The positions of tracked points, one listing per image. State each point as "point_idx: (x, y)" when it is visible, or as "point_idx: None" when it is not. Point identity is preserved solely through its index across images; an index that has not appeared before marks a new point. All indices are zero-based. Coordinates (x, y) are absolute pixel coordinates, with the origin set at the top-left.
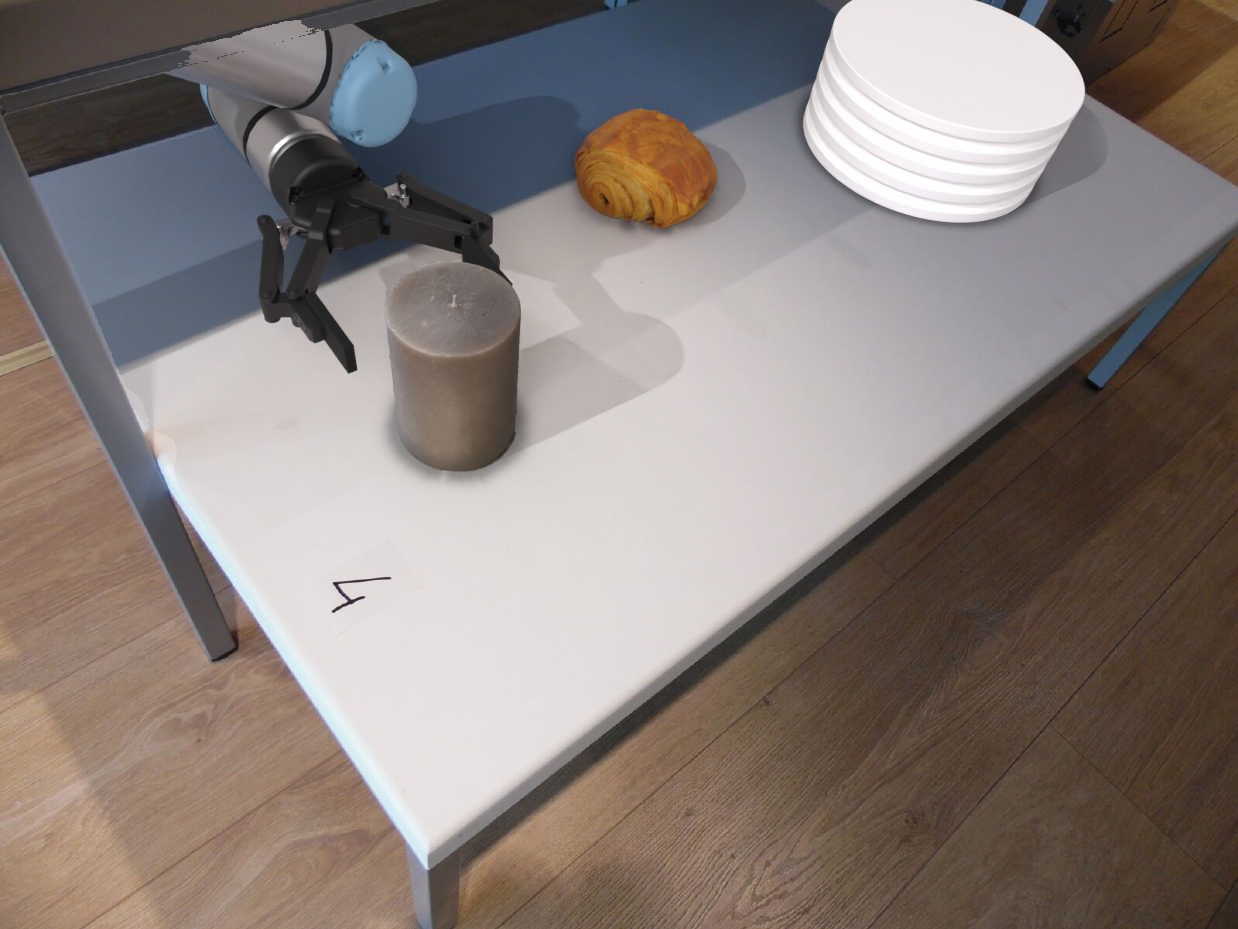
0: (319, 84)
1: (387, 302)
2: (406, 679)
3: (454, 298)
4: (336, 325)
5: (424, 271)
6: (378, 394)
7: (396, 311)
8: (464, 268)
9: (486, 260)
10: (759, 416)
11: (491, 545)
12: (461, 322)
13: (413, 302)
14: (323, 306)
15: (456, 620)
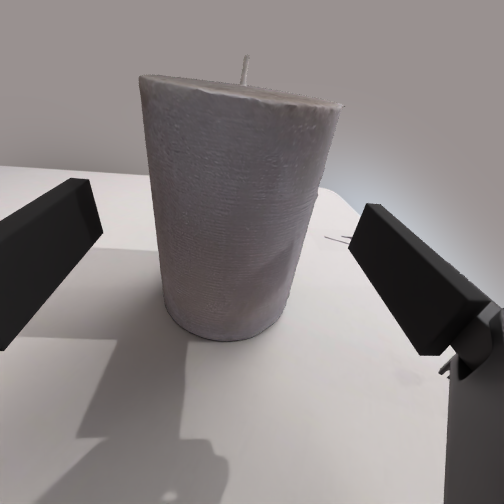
0: None
1: (334, 105)
2: (327, 210)
3: (247, 63)
4: (395, 226)
5: (248, 94)
6: (288, 365)
7: (325, 101)
8: (177, 81)
9: (29, 212)
10: (20, 204)
11: None
12: (250, 86)
13: (296, 95)
14: (428, 259)
15: None
